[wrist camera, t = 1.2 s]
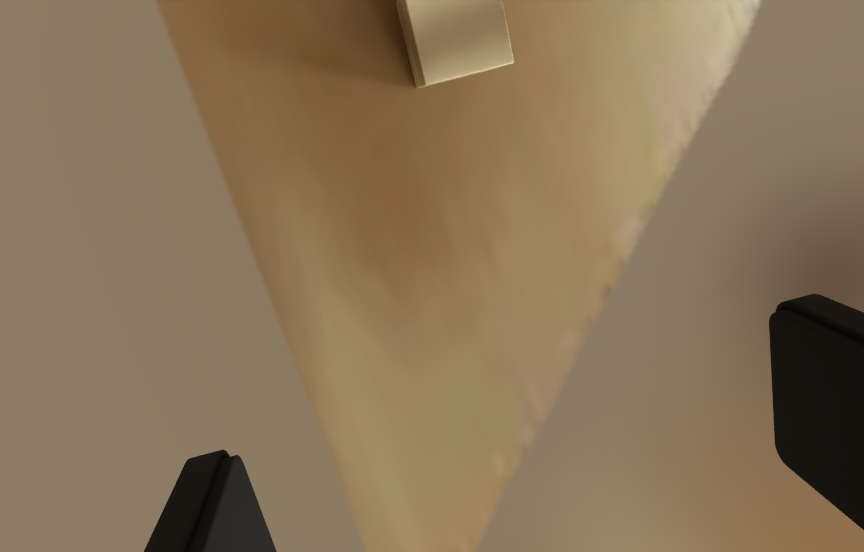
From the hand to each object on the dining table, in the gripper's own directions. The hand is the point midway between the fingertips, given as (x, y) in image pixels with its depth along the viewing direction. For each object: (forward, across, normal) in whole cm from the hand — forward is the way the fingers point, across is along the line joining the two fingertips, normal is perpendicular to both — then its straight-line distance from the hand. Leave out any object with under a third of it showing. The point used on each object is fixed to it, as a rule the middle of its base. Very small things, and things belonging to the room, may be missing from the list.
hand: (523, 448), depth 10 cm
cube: (+26, -4, -8) cm, 27 cm away
